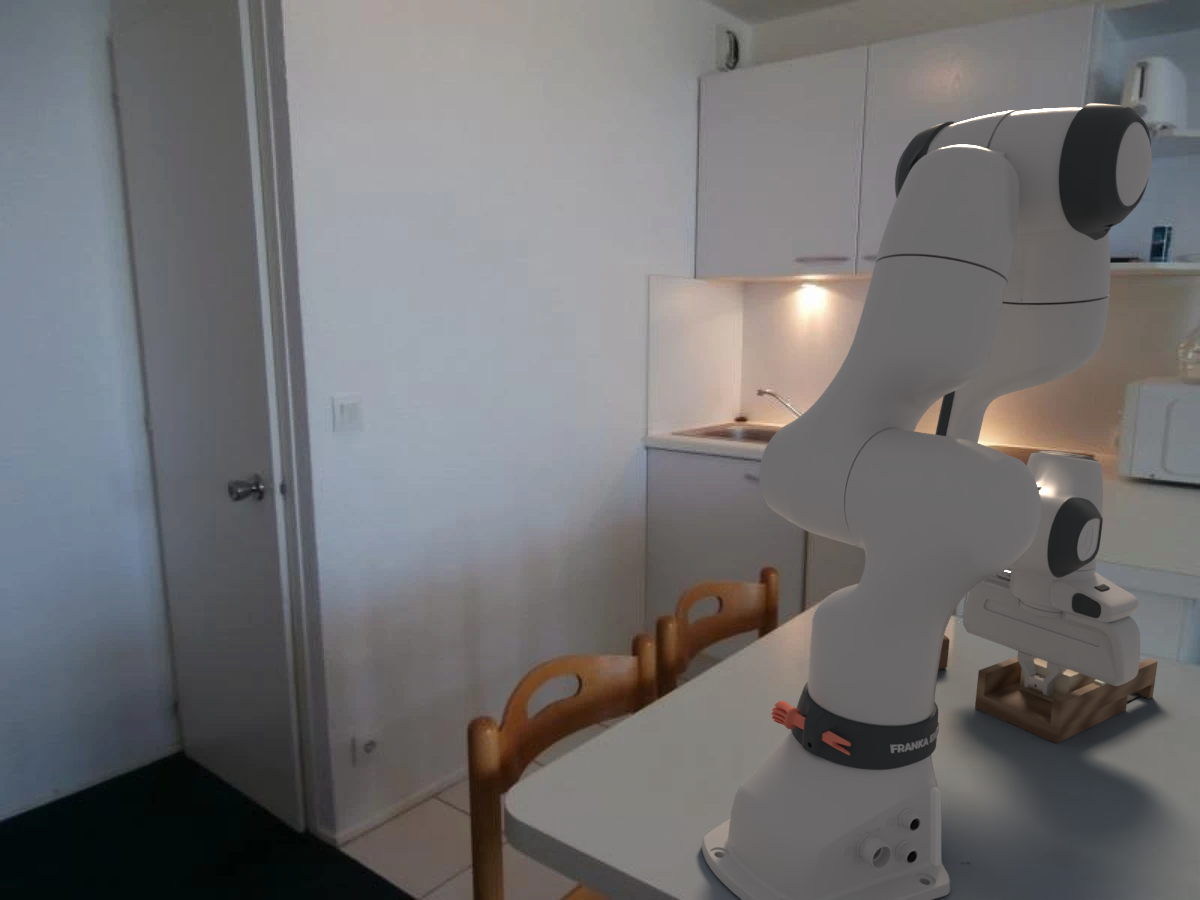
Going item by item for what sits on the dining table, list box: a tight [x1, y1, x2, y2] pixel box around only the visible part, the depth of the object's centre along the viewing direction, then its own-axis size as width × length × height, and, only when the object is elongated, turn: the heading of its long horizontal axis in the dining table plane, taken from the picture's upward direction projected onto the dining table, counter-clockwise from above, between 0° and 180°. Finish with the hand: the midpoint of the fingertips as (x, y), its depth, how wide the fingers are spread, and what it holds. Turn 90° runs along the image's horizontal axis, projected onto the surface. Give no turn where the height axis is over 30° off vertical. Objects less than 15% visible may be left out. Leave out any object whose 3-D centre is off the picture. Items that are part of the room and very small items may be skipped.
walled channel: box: [974, 655, 1159, 744], centre depth 108 cm, size 23×10×5 cm, turn 123°
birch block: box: [1019, 658, 1094, 702], centre depth 107 cm, size 6×6×4 cm
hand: (1038, 690), depth 105 cm, fingers closed
